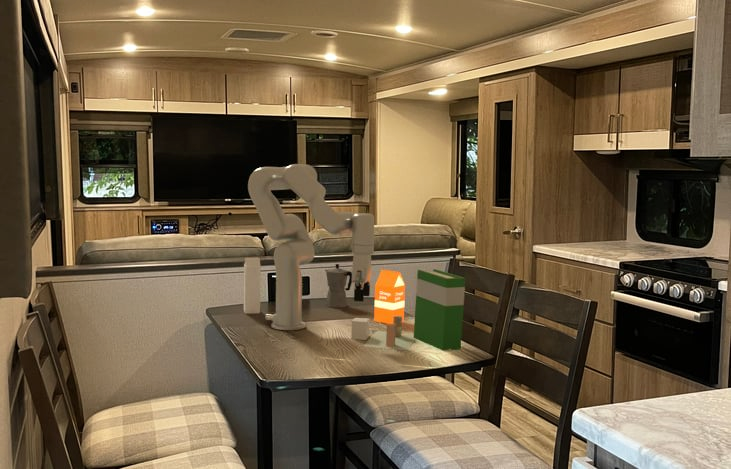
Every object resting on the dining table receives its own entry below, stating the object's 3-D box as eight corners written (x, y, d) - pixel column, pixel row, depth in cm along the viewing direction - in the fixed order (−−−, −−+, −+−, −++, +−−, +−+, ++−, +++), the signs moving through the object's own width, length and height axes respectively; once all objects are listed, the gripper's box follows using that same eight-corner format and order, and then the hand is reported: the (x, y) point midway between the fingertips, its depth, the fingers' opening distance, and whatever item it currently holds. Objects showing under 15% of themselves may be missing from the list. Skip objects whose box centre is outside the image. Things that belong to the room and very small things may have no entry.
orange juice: (392, 325, 257) (394, 273, 255) (373, 321, 262) (375, 270, 260) (404, 322, 263) (405, 271, 261) (385, 318, 268) (387, 268, 266)
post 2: (392, 336, 239) (393, 316, 238) (394, 334, 241) (394, 315, 240) (400, 337, 238) (400, 317, 237) (401, 335, 241) (402, 315, 240)
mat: (362, 347, 224) (362, 346, 224) (376, 332, 246) (376, 331, 246) (407, 351, 221) (407, 350, 221) (417, 335, 243) (417, 334, 243)
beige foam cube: (351, 339, 234) (351, 320, 234) (354, 336, 239) (355, 317, 239) (366, 340, 233) (366, 322, 233) (369, 337, 238) (369, 318, 238)
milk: (260, 313, 271) (261, 258, 269) (244, 313, 270) (245, 259, 267) (258, 310, 277) (259, 256, 275) (243, 310, 275) (244, 256, 273)
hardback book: (413, 337, 238) (417, 269, 235) (431, 335, 241) (435, 269, 239) (442, 351, 223) (447, 278, 220) (460, 349, 226) (465, 278, 223)
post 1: (386, 345, 226) (386, 325, 225) (387, 343, 228) (388, 323, 228) (393, 346, 225) (394, 325, 225) (395, 344, 228) (395, 324, 227)
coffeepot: (317, 304, 290) (318, 263, 289) (332, 301, 298) (333, 261, 296) (344, 310, 281) (346, 267, 279) (359, 307, 288) (360, 265, 286)
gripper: (357, 246, 242) (357, 293, 244) (346, 251, 225) (345, 302, 227) (378, 247, 241) (377, 294, 242) (368, 252, 224) (367, 303, 226)
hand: (361, 298), depth 235 cm, fingers open, 9 cm apart
